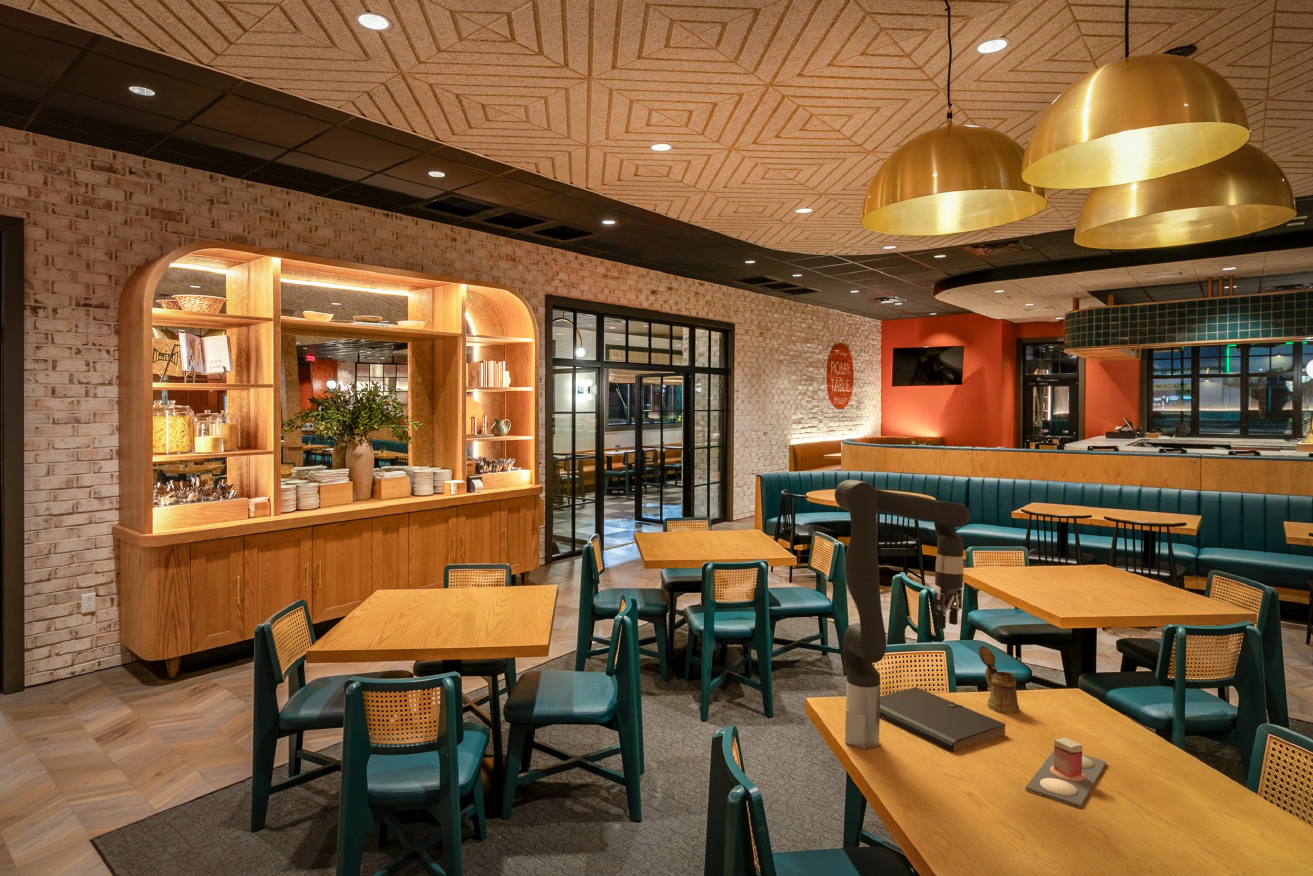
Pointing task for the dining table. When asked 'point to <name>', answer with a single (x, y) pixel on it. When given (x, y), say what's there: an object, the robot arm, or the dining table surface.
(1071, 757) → the small box
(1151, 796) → the dining table surface
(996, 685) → the wooden mug
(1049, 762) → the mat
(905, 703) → the file folder
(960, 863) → the dining table surface
